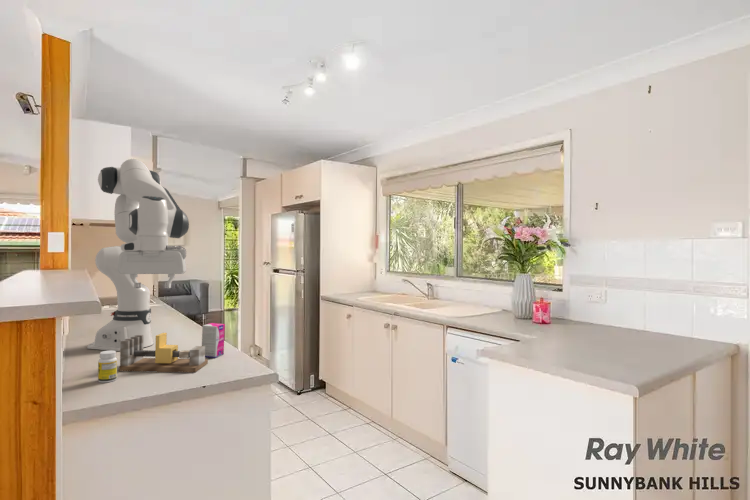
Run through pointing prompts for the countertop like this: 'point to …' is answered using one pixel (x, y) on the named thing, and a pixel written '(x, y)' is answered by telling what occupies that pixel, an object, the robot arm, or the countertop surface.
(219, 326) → the supplement box
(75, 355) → the countertop surface
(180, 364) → the wooden board with slider
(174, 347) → the yellow l-shaped block
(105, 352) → the supplement bottle
